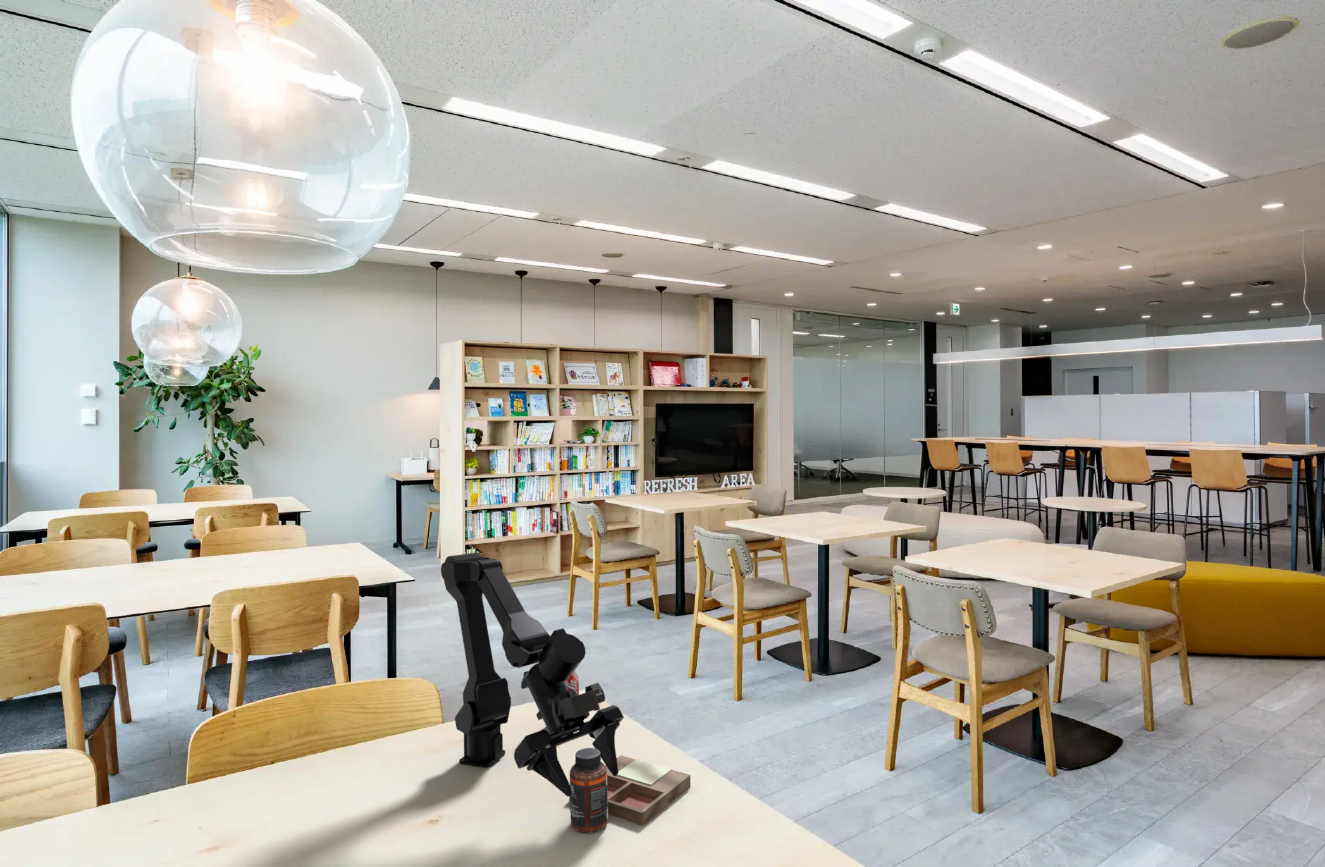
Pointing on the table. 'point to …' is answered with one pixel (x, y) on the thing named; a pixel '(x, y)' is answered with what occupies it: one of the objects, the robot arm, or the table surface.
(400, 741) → the table surface
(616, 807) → the board
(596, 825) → the supplement bottle
